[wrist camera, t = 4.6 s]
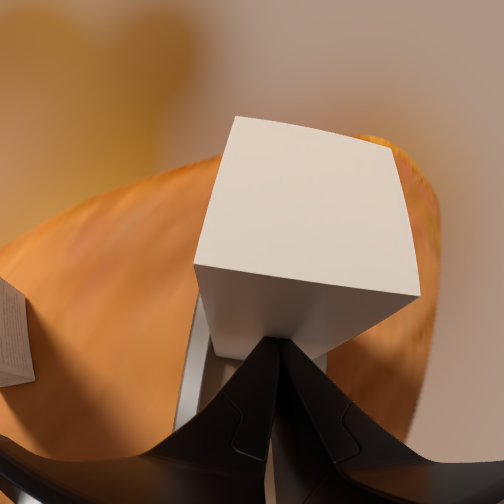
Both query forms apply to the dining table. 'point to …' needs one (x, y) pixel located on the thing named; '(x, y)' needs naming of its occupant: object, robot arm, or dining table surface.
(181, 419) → the track
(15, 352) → the skincare box
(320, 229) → the slider block
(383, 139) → the dining table surface
